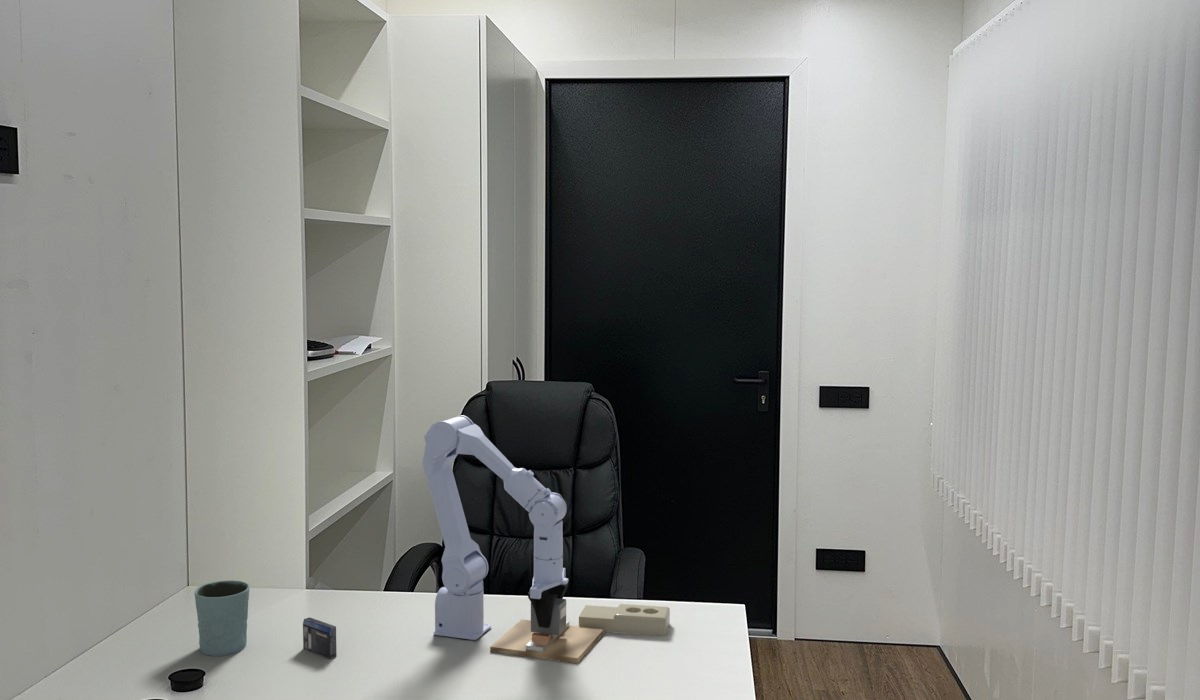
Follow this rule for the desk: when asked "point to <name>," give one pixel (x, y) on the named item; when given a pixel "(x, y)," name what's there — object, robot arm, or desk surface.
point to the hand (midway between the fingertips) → (548, 623)
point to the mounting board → (564, 648)
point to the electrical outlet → (627, 619)
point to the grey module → (552, 619)
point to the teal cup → (222, 617)
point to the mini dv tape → (319, 637)
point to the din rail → (542, 641)
